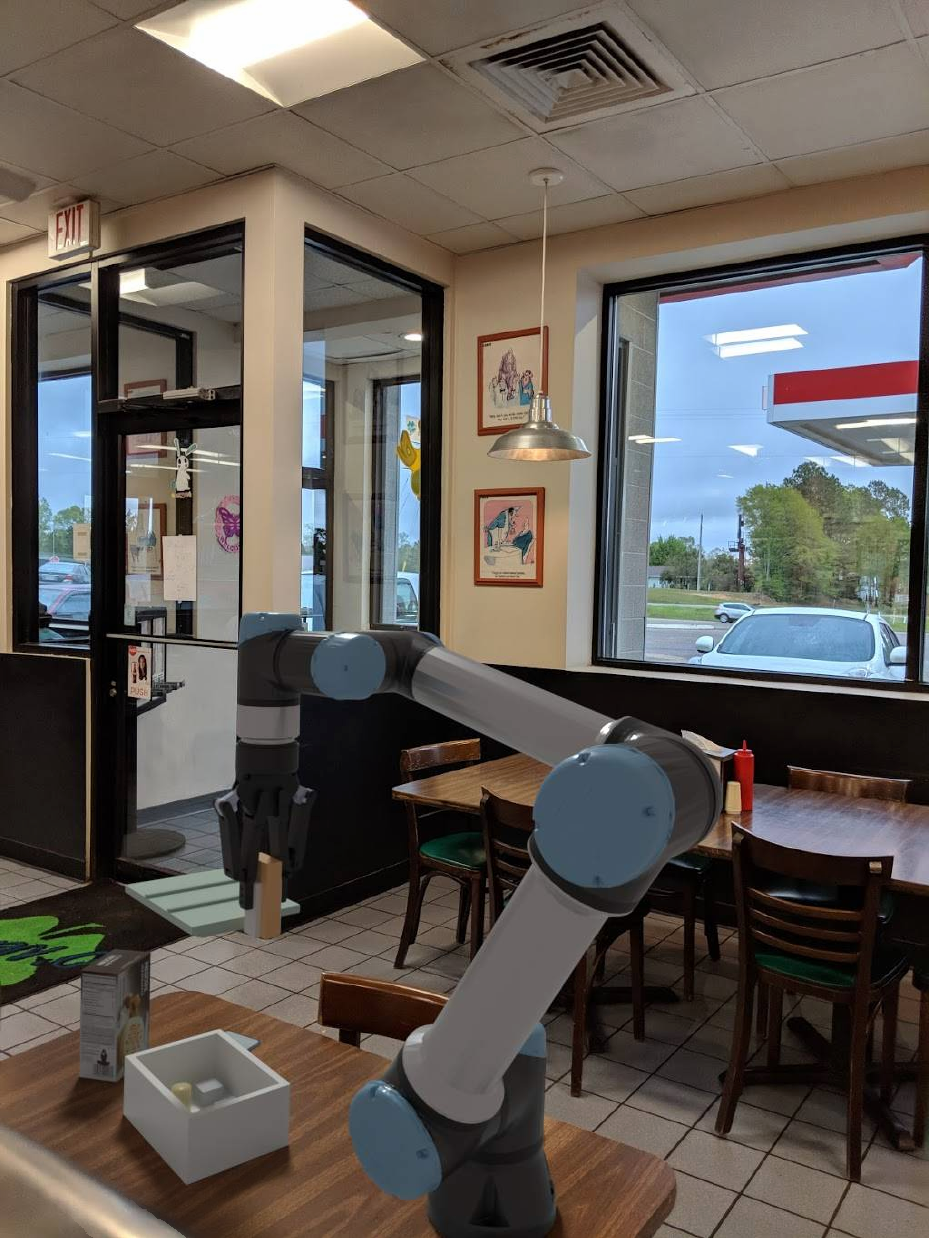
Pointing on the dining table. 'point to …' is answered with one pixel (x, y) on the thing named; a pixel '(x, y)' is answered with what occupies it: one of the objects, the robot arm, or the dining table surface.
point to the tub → (206, 1104)
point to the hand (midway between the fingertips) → (262, 931)
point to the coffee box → (113, 1013)
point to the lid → (215, 900)
